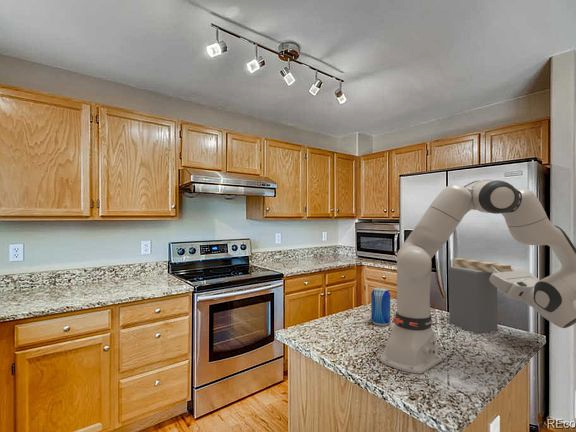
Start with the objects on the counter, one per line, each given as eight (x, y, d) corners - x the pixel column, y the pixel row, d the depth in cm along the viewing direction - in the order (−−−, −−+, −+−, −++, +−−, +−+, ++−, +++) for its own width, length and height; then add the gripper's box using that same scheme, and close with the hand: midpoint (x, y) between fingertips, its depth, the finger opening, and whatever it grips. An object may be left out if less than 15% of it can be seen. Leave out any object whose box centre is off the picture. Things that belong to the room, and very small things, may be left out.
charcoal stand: (497, 330, 132) (497, 270, 132) (477, 333, 128) (477, 271, 128) (468, 320, 145) (468, 265, 145) (449, 323, 141) (449, 266, 141)
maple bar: (511, 274, 123) (511, 265, 123) (504, 274, 121) (504, 265, 121) (459, 265, 145) (459, 258, 145) (452, 265, 144) (452, 258, 144)
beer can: (374, 319, 146) (373, 286, 146) (392, 322, 142) (392, 288, 142) (369, 324, 139) (369, 289, 139) (388, 328, 135) (387, 291, 135)
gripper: (551, 281, 117) (517, 259, 128) (514, 286, 110) (483, 262, 121) (541, 294, 120) (510, 271, 131) (506, 299, 113) (475, 274, 124)
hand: (497, 267), depth 126 cm, fingers open, 5 cm apart
